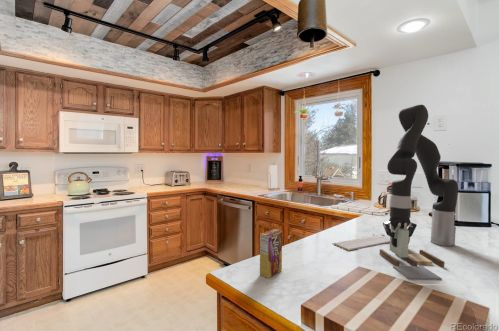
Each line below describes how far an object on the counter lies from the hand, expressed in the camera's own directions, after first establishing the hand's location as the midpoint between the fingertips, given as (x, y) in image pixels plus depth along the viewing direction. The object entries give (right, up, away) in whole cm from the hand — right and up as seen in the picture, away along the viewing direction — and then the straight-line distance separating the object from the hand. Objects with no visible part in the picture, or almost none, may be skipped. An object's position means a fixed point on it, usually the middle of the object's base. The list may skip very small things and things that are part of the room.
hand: (398, 246), depth 111 cm
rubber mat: (0, -7, -12) cm, 14 cm away
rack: (+5, -6, +1) cm, 8 cm away
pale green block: (0, -3, 0) cm, 3 cm away
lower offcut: (+9, -7, +1) cm, 11 cm away
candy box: (-55, -6, -13) cm, 57 cm away
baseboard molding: (-6, -6, +23) cm, 24 cm away
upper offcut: (+9, -6, +1) cm, 11 cm away
